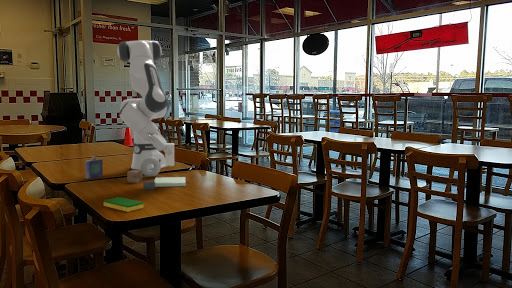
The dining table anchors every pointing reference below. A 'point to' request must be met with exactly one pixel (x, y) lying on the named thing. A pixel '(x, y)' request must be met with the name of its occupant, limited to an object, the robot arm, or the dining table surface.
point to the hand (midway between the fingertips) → (171, 153)
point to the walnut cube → (134, 176)
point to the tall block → (170, 159)
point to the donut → (146, 162)
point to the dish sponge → (123, 204)
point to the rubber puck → (149, 185)
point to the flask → (93, 168)
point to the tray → (170, 181)
